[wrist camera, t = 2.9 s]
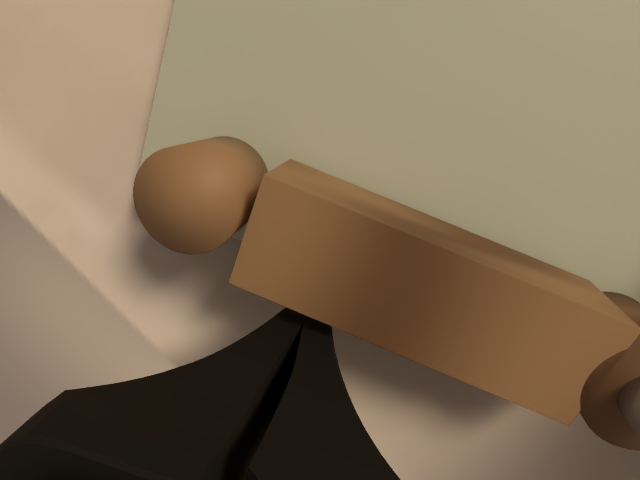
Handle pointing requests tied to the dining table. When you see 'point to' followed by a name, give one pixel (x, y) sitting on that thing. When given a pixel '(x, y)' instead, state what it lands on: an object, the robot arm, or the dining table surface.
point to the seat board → (408, 119)
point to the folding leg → (445, 299)
